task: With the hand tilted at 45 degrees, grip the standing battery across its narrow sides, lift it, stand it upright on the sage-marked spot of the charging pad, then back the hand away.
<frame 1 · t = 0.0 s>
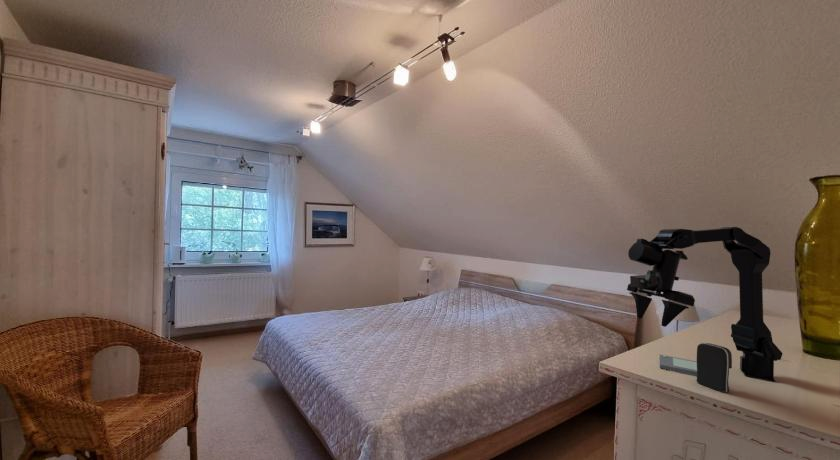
hand: (650, 322, 99), 15 cm above the table, tool pointing down, fingers open, 9 cm apart
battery: (713, 388, 93), on the table
charging pad: (687, 368, 106), on the table
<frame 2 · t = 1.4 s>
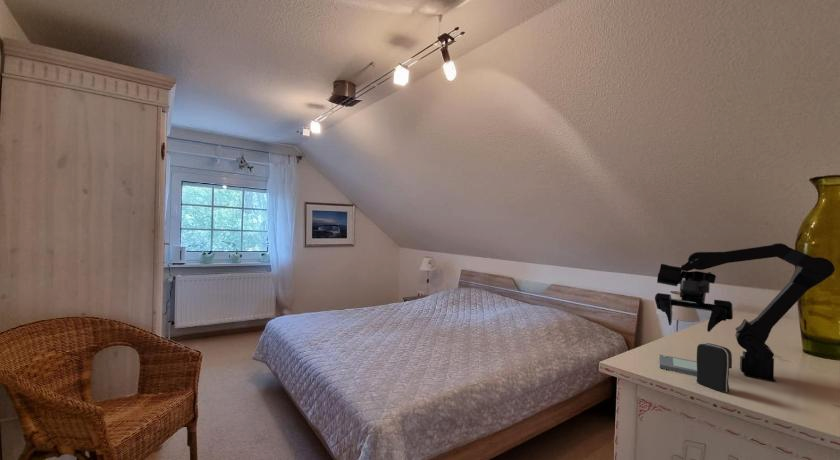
hand: (688, 327, 103), 13 cm above the table, tool tilted 45°, fingers open, 9 cm apart
nothing on the table moved.
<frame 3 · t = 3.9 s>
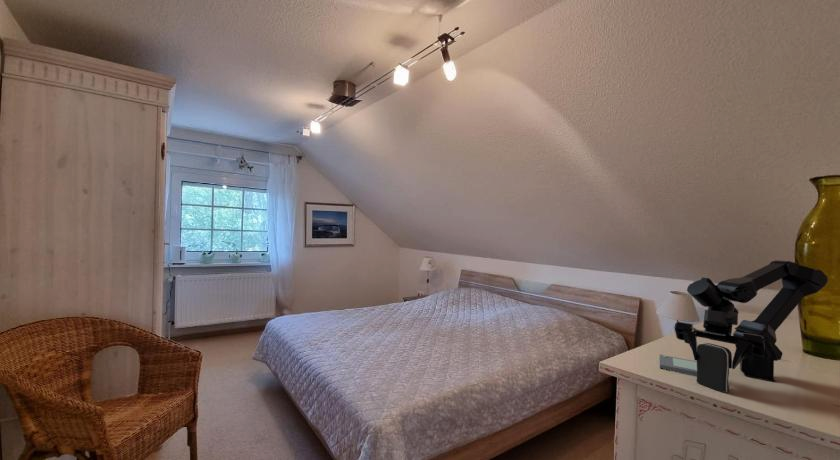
hand: (713, 363, 92), 7 cm above the table, tool tilted 45°, fingers closed on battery, 7 cm apart
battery: (713, 388, 93), on the table, touching gripper
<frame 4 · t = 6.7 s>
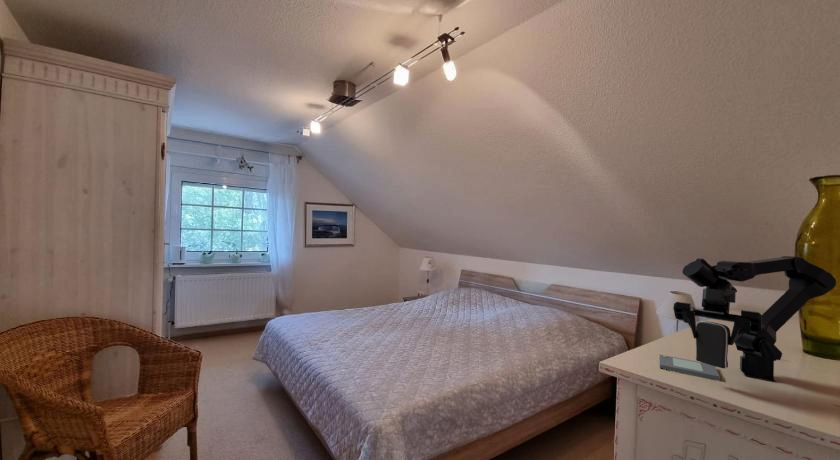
hand: (712, 340, 93), 12 cm above the table, tool tilted 45°, fingers closed on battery, 7 cm apart
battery: (713, 365, 94), point 5 cm above the table, touching gripper
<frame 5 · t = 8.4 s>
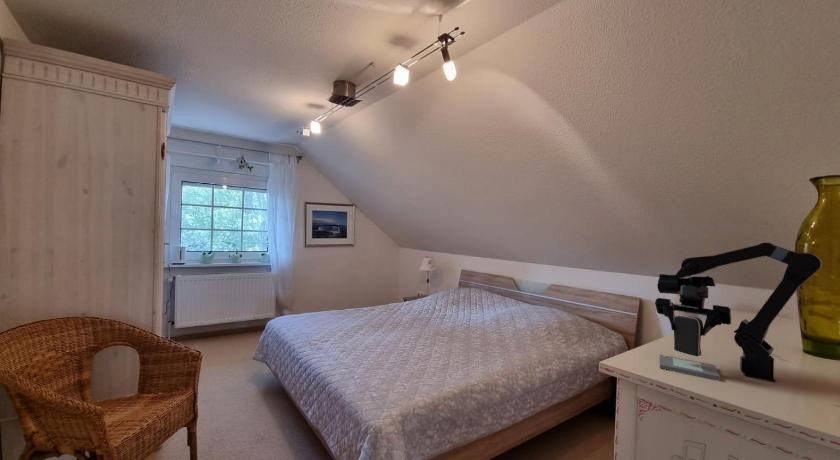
hand: (687, 332, 105), 11 cm above the table, tool tilted 45°, fingers closed on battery, 7 cm apart
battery: (688, 353, 106), point 5 cm above the table, touching gripper
when the fingers open (9 cm above the table, at t = 9.5 s): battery stays where it is, resting on charging pad.
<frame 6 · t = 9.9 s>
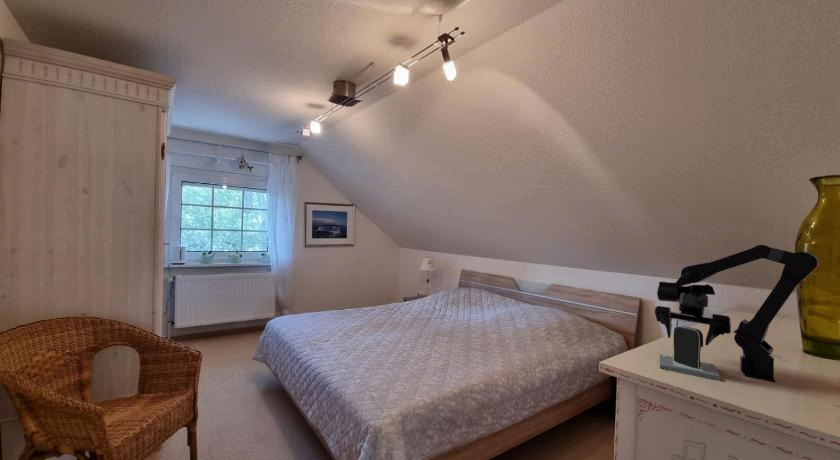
hand: (686, 340, 105), 9 cm above the table, tool tilted 45°, fingers open, 9 cm apart
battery: (688, 365, 106), point 1 cm above the table, touching charging pad
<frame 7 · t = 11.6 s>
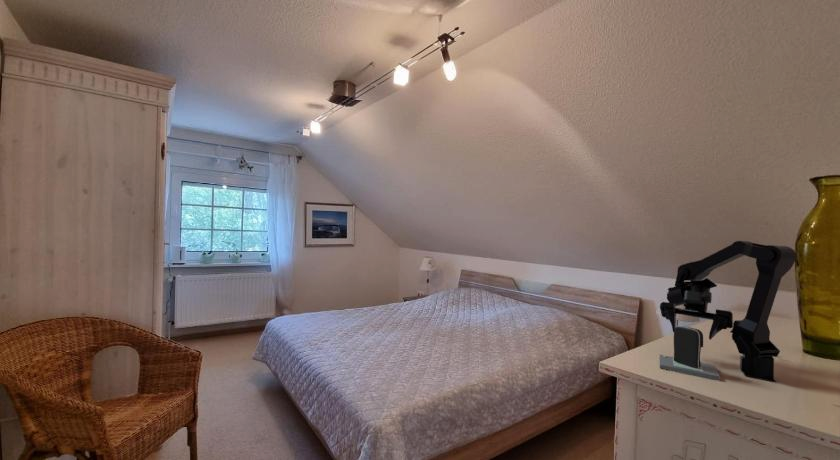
hand: (691, 335, 110), 9 cm above the table, tool tilted 45°, fingers open, 9 cm apart
nothing on the table moved.
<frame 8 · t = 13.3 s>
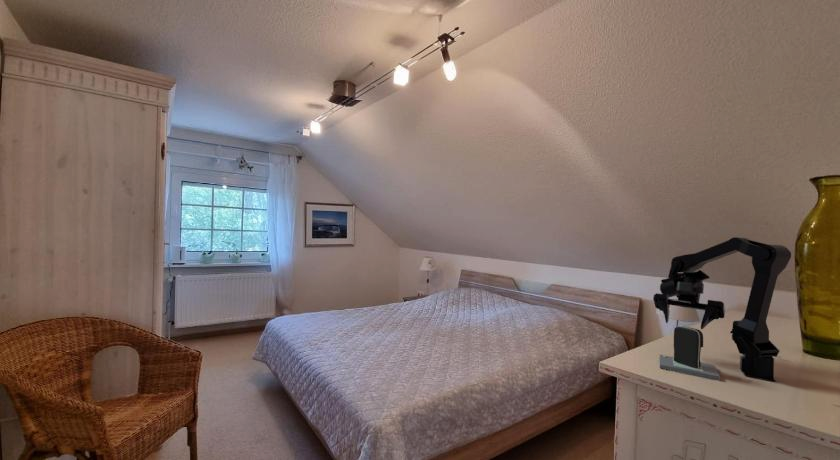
hand: (683, 325, 112), 12 cm above the table, tool tilted 45°, fingers open, 9 cm apart
nothing on the table moved.
at the end: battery inside the target area on the charging pad (0.2 cm from its centre), point 1.1 cm above the charging pad's base; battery tilted 0°; the gripper is holding nothing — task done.
